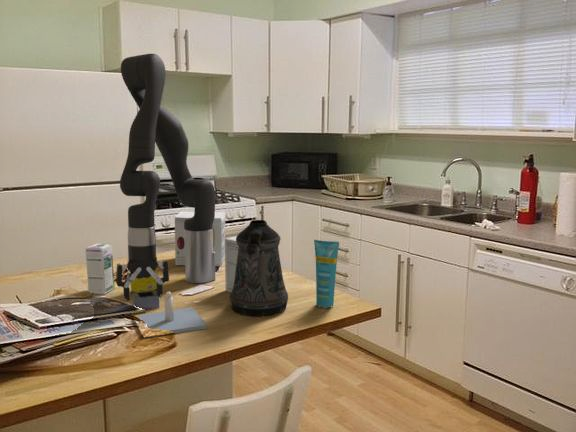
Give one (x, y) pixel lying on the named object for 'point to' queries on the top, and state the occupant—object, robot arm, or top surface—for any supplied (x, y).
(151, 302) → the tissue dispenser
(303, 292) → the top surface
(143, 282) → the supplement box
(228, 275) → the supplement box
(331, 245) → the tube
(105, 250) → the syrup box
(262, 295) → the dark ornate coffee pot
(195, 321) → the keeper plate
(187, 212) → the supplement box
